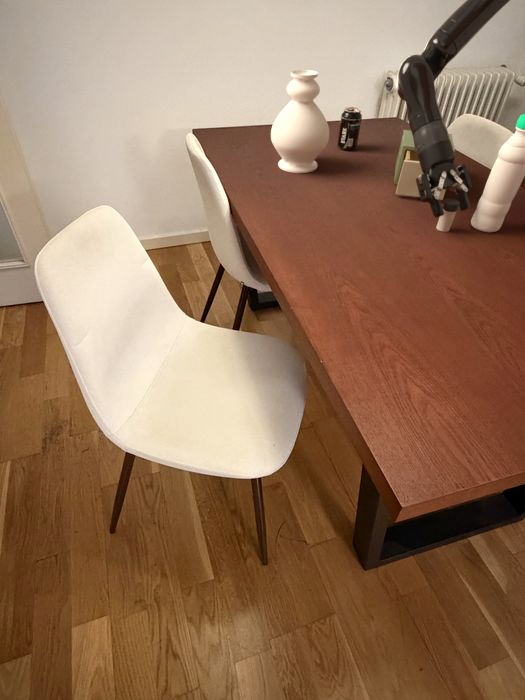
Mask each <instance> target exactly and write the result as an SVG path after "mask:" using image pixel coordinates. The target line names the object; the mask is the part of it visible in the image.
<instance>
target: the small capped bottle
mask: <svg viewBox="0 0 525 700" xmlns="http://www.w3.org/2000/svg"><path fill="white" fill-rule="evenodd" d="M459 204H460V202H459V201H458V199H455V198H446V199H445V200H444V202H443V205H442V208H443V211H444V215H442V216H440V217H438V220H437V224H436V227H435V228H436V230H437V231H439V232H442V233H447V232H450V230H451V228H452V225H453V222H454V219H455V216H456V214H457V211H458V210H459V208H460V206H459Z"/></svg>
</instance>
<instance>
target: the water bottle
mask: <svg viewBox="0 0 525 700" xmlns="http://www.w3.org/2000/svg"><path fill="white" fill-rule="evenodd" d="M524 179H525V113H523V114H520V116H518V119H517V121H516V124H515V132H514V133H513V134H512V135H511V136H510V137H509V138H508V140H507V141H505V143H504V144H502V146H501V147H500V148H499V150H498V154H497V158H496V159H495V162H494V164H493V166H492V167H491V170H490V173H489V176H488V177H487V181H486V183H485V186H484V188H483V192H482V194H481V196H480V198H479V200H478V202H477V205H476V209H475V211H474V212H473V215H472V217H471V219H470V225H471V226H472V227H473V228H474V229H475V230H477V231H480V232H483V233H495V232H497V231H499V230H500V229H501V228H502V226H503V223H504V221H505V218H506V215H507V214H508V212H509V211H510V209H511V206H512V202H513V200H514V198H515V197H516V195H517V193H518V191H519V189H520V187H521V185H522V182H523V181H524Z"/></svg>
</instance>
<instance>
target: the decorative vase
mask: <svg viewBox="0 0 525 700" xmlns="http://www.w3.org/2000/svg"><path fill="white" fill-rule="evenodd" d="M290 76H291V78H293V79H292V80H290V81H289V82H288V84H287V86H286V93H287V96H289V98H290V99H291V100H290V101H289V102H288V103H287V104H286V105H285V106H284V107H283V108H282V110H281V111H280V112H278V114H277V116H276V118H275V119H274V121H273V124H272V126H271V130H270V140H271V144H272V146H273V148H274V149H275V151H276V152H277V153H278V156H280V158H281V159H280V160H279V161H278V163H277V167H278V168H279V169H280V170H282V171H283V172H286V173H293V174H307V173H312V172H314V171H316V170H317V168H318V162H317V161H316V159H317V158H318V156H319V155H320V154H321V153H322V152H323V151H324V150H325V148H326V147H327V145H328V143H329V141H330V127H329V124H328V121H327V119H326V117H325V115H324V113H323V112H322V110H321V109H320V107H319V106H318V105H317V103H316V102H315V101H314V100H315V99H316V98H317V97H318V96H319V94H320V92H321V87H320V85H319V83H318V81H316V80H315V79H316V78H317V77H318V76H319V72H318V71H316V70H312V69H295V70H290Z"/></svg>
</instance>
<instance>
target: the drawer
mask: <svg viewBox="0 0 525 700" xmlns="http://www.w3.org/2000/svg"><path fill="white" fill-rule="evenodd" d="M422 174H423V172H422V169H421V166H420V163H419V159H418V156H417V153H416V150H406V153H405V157H404V161H403V165H402V169H401V173H400V178H399V182H398V185H396V190H395V195H399V196H406V197H415V198H420V194H419V191H418V187H417V183H416V178H417V177H419V176H420V175H422ZM429 184H430V183H429ZM424 192H425V195H426V191H424ZM446 192H447V189H442V190H441V192H440V195H439V199H440V201H443V200H444V197H445V194H446ZM439 199H438V200H439Z"/></svg>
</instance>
